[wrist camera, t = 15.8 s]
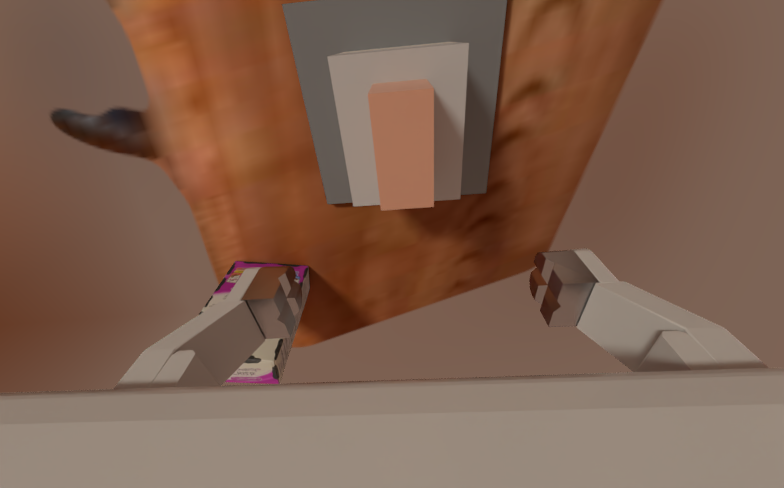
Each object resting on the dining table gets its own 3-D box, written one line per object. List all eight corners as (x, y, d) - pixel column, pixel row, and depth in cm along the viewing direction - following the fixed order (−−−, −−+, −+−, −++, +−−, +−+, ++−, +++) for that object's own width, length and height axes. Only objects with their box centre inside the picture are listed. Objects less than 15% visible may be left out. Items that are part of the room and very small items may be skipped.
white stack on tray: (505, -19, 26) (556, -45, 18) (484, 189, 38) (508, 232, 29) (285, 5, 27) (238, -10, 19) (329, 200, 39) (311, 244, 30)
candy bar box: (241, 284, 47) (180, 382, 34) (235, 259, 44) (165, 355, 31) (312, 289, 48) (279, 387, 34) (310, 264, 45) (273, 362, 31)
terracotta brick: (426, 78, 22) (433, 88, 18) (427, 180, 26) (433, 206, 22) (372, 83, 22) (367, 94, 18) (383, 183, 27) (381, 210, 22)
